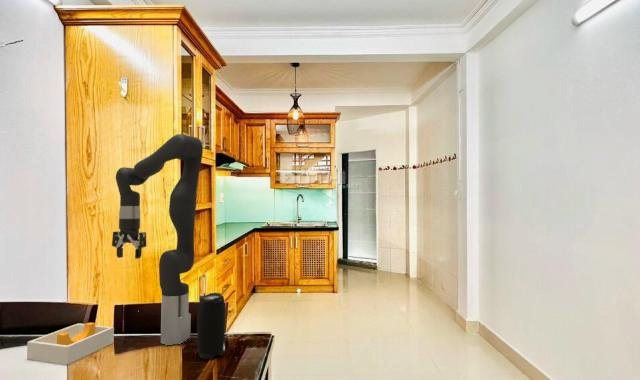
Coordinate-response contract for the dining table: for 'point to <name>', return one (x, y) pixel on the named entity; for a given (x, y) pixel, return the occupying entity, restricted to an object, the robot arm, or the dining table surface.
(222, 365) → the dining table surface
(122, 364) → the dining table surface
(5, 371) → the dining table surface
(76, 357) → the walled box
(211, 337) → the portable speaker
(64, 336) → the pipe clamp
